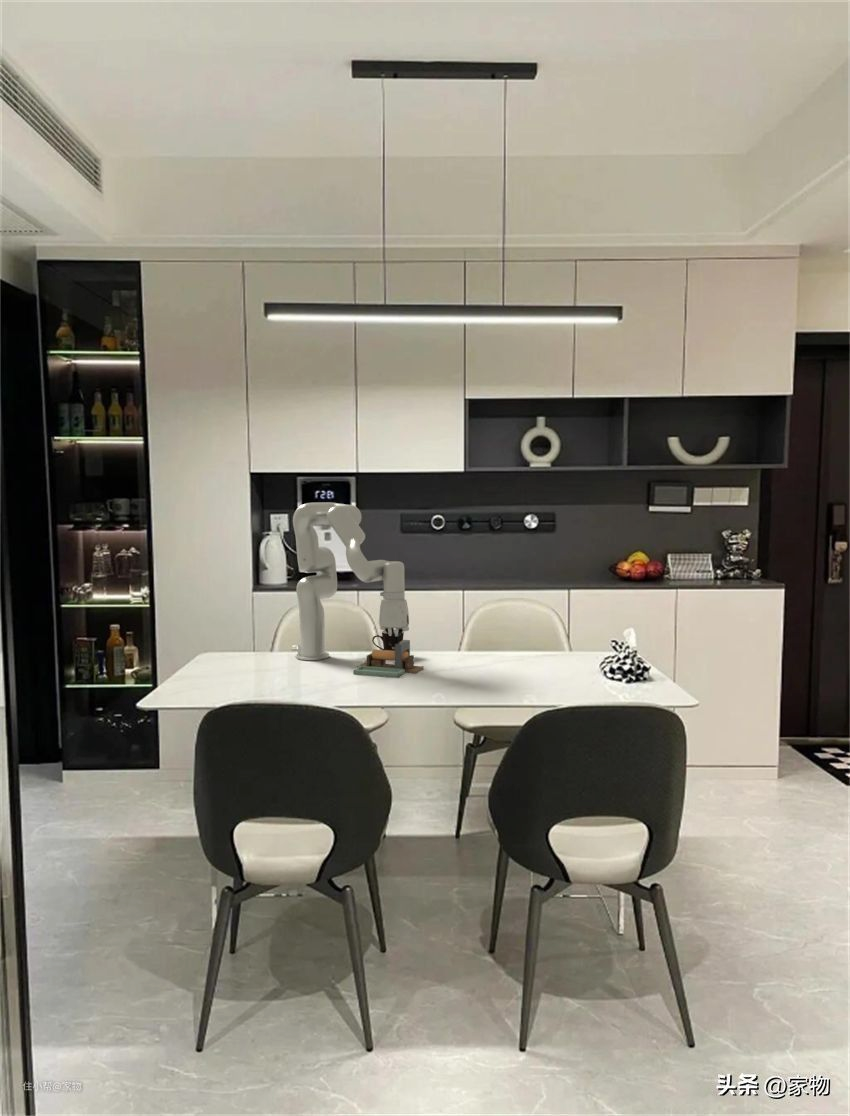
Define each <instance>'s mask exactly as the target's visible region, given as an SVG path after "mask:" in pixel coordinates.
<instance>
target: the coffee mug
mask: <svg viewBox="0 0 850 1116" xmlns="http://www.w3.org/2000/svg"><path fill="white" fill-rule="evenodd" d="M394 633H395V629H394ZM404 634H405V631H404V632H402V633H401V634H400V635H399V642H400V641H402V640H404V636H405V635H404ZM376 637H377V638H380V639H381V641H382V644H383V647H381V646H379V645H377V644H376V643H375V639H376ZM371 641H372V644H373V645H374V646H376V648H379V650H390V651H395V647H391V644H390V636H389V634H388V633H387V632H386V631H384V630H382V631H381V635H377V634H376V635H374V636H373V637H372V640H371Z"/></svg>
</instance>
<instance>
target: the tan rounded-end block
mask: <svg viewBox="0 0 850 1116" xmlns="http://www.w3.org/2000/svg"><path fill="white" fill-rule="evenodd" d="M371 653H372V659H377V660H386V661H393V662H395V651H390V650H382V649H372V652H371ZM407 657H409V653H408V652H402V661H405V659H406V658H407Z"/></svg>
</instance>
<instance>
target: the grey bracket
mask: <svg viewBox="0 0 850 1116" xmlns="http://www.w3.org/2000/svg"><path fill="white" fill-rule="evenodd" d="M402 652H408V653H409V656H411V640H409V639H403V640H402V641H400V642H398V643H397V644H395V661H394V664H395V668H396V669H402Z"/></svg>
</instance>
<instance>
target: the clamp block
mask: <svg viewBox="0 0 850 1116" xmlns="http://www.w3.org/2000/svg"><path fill="white" fill-rule="evenodd" d="M414 656H415V655H414V654H413V655H412V654H410V656H409V657H407V658H406V659H405V661H402V669H405V674H414V675H415V674H416V675H417V674H418V673H421V672H422V671H423V670H424V669H425V668H424V666H421V665H415V661H414V660H415V658H414ZM360 666H370V667H383V668H395V663H387V660H377V659H372V652H371V653H369V654H367V655H366V661H364V662H362V663H360V664H359V665H357V666H356V668H358V667H360Z"/></svg>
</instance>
